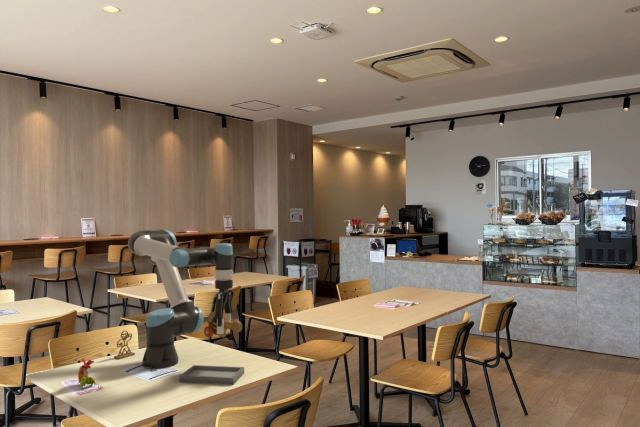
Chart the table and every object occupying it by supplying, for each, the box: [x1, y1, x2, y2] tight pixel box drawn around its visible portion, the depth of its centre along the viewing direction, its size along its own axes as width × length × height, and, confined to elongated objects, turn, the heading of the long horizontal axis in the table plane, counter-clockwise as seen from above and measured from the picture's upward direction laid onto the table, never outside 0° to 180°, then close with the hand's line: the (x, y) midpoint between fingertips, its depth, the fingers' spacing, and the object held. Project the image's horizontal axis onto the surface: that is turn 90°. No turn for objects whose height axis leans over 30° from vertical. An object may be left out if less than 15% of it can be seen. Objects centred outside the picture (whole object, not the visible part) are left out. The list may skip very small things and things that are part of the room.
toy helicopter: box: [203, 304, 243, 339], centre depth 209 cm, size 8×21×14 cm, turn 51°
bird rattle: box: [77, 357, 97, 388], centre depth 188 cm, size 6×11×9 cm
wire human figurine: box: [113, 330, 136, 360], centre depth 227 cm, size 9×4×12 cm, turn 149°
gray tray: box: [179, 364, 245, 386], centre depth 196 cm, size 22×14×2 cm, turn 82°
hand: (224, 330), depth 210 cm, fingers closed on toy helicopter, 10 cm apart
